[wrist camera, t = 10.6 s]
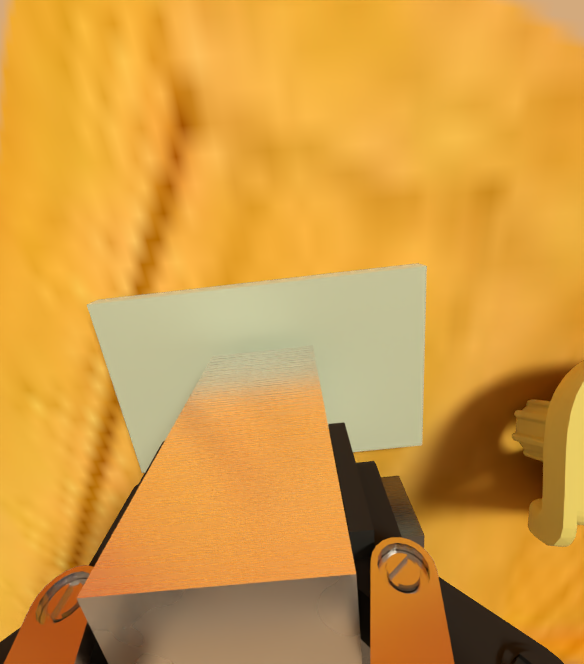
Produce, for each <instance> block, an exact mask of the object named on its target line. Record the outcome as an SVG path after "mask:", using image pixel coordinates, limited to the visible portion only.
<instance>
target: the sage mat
mask: <svg viewBox="0 0 584 664" xmlns="http://www.w3.org/2000/svg"><path fill="white" fill-rule="evenodd" d="M426 269H427V266H425V265H422V264H419V263H417V264H408V265H400V266H391V267H382V268H373V269H364V270H356V271H347V272H338V273H329V274H320V275H312V276H303V277H294V278H285V279H277V280H268V281H259V282H250V283H241V284H233V285H224V286H215V287H206V288H197V289H189V290H180V291H171V292H162V293H153V294H145V295H136V296H127V297H118V298H110V299H101V300H97V301H94V302H92V303H90V304H87V307H88V310H89V313H90V316H91V319H92V322H93V325H94V328H95V331H96V334H97V337H98V340H99V343H100V346H101V349H102V352H103V356H104V359H105V362H106V365H107V368H108V371H109V374H110V377H111V380H112V383H113V386H114V389H115V392H116V395H117V398H118V401H119V404H120V407H121V410H122V413H123V416H124V419H125V422H126V425H127V428H128V431H129V434H130V437H131V440H132V443H133V446H134V450H135V453H136V456H137V459H138V462H139V465H140V468H141V471H142V473H145V472H146V470H147V468H148V467H149V465H150V463H151V461H152V460H153V458H154V456H155V454H156V453H157V451H158V449H159V447H160V446H161V444H162V442H163V441H165V440H166V438H167V436H168V434H169V433H170V431H171V429H172V427H173V426H174V424H175V422H176V420H177V418H178V417H179V415H180V413H181V411H182V410H183V408H184V406H185V404H186V402H187V401H188V399H189V397H190V395H191V394H192V392H193V390H194V388H195V386H196V385H197V383H198V381H199V379H200V378H201V376H202V374H203V372H204V370H205V369H206V367H207V365H208V363H209V361H210V360H211V358H212V356H219V355H228V354H238V353H247V352H256V351H266V350H275V349H284V348H294V347H303V346H312V345H313V349H314V355H315V360H316V365H317V370H318V376H319V381H320V386H321V391H322V397H323V402H324V407H325V412H326V418H327V423H328V424H332V423H342V422H344V423H345V426H346V429H347V433H348V437H349V440H350V444H351V448H352V451H353V452H359V451H369V450H379V449H389V448H399V447H409V446H419V445H422V430H423V390H424V350H425V310H426Z"/></svg>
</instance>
